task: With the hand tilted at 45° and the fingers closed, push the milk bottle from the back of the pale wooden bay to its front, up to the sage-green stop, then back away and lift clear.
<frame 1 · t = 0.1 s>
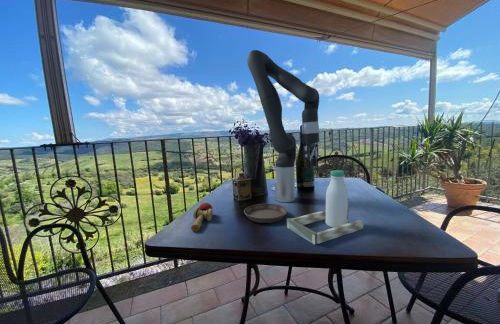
hand: (311, 167, 105), 17 cm above the table, tool pointing down, fingers open, 8 cm apart
milk bottle: (336, 225, 83), on the table
plant saucer: (265, 217, 94), on the table
bay: (324, 228, 81), on the table
kendama: (202, 222, 90), on the table
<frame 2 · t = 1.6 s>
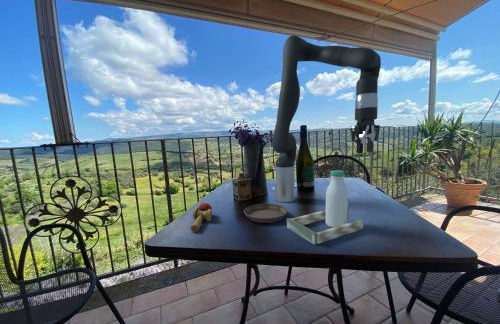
hand: (364, 152, 87), 25 cm above the table, tool pointing down, fingers open, 5 cm apart
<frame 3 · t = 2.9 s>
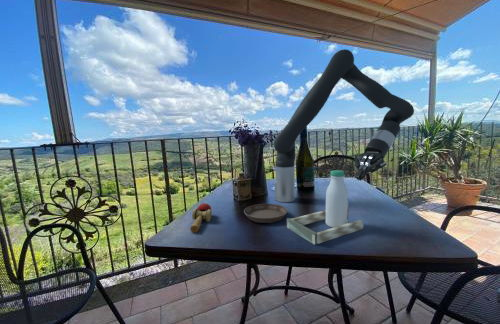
hand: (358, 178, 86), 16 cm above the table, tool tilted 45°, fingers closed
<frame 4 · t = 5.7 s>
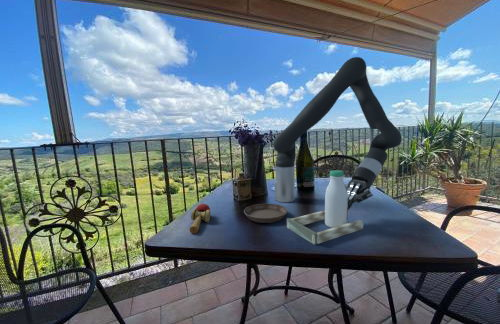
hand: (344, 208, 84), 5 cm above the table, tool tilted 45°, fingers closed
milk bottle: (335, 225, 83), on the table, touching gripper
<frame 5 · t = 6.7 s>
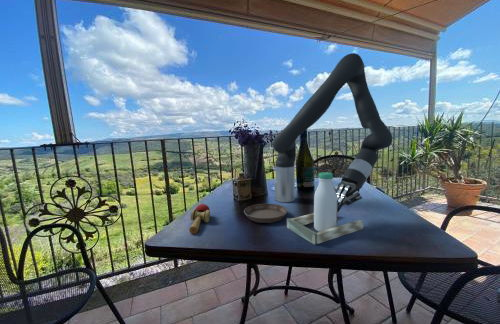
hand: (333, 211, 82), 5 cm above the table, tool tilted 45°, fingers closed
milk bottle: (325, 229, 80), on the table, touching gripper
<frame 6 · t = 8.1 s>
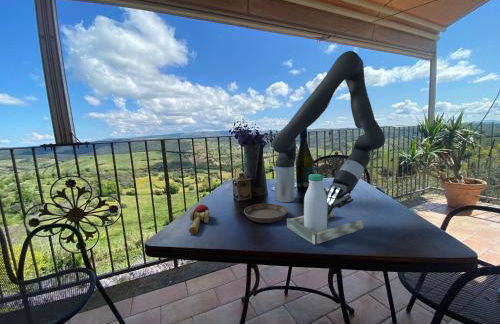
hand: (324, 214, 79), 5 cm above the table, tool tilted 45°, fingers closed
milk bottle: (315, 232, 78), on the table, touching gripper
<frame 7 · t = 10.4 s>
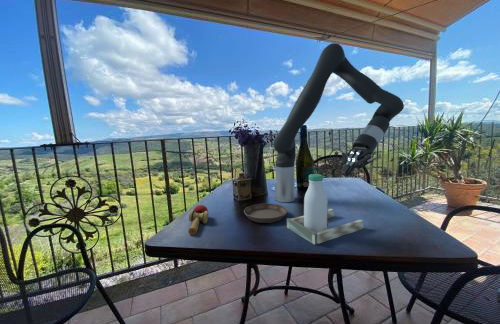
hand: (344, 175, 83), 18 cm above the table, tool tilted 45°, fingers closed
milk bottle: (315, 232, 78), on the table
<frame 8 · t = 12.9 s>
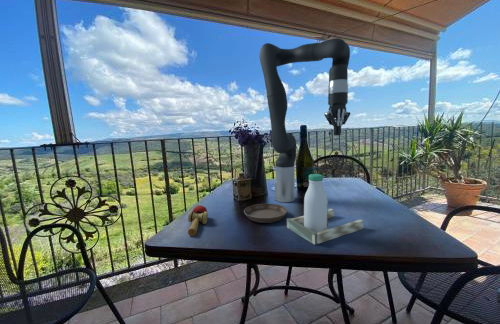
hand: (337, 135, 95), 32 cm above the table, tool pointing down, fingers closed
at the end: milk bottle inside the target area on the bay (0.9 cm from its centre), point 0.0 cm above the bay's base; milk bottle tilted 0°; milk bottle moved 10.7 cm from its start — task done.
